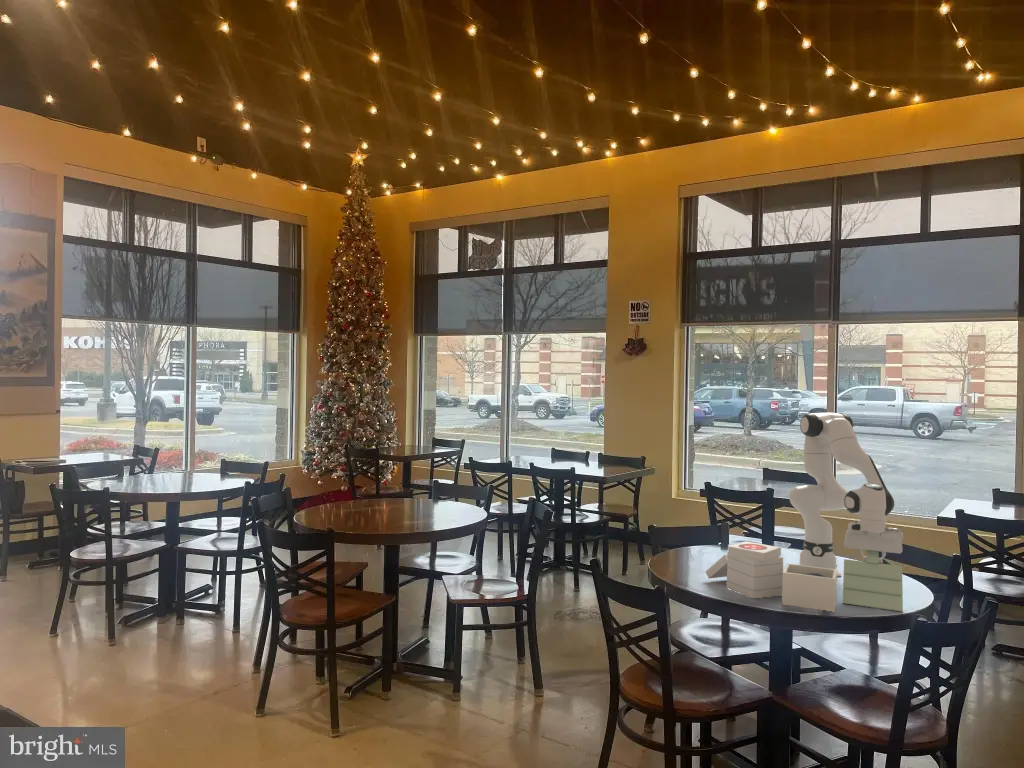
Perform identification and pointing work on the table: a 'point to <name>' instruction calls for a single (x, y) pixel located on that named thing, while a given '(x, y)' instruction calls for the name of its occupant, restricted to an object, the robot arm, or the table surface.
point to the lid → (873, 583)
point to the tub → (809, 587)
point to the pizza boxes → (751, 569)
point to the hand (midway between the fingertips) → (872, 562)
